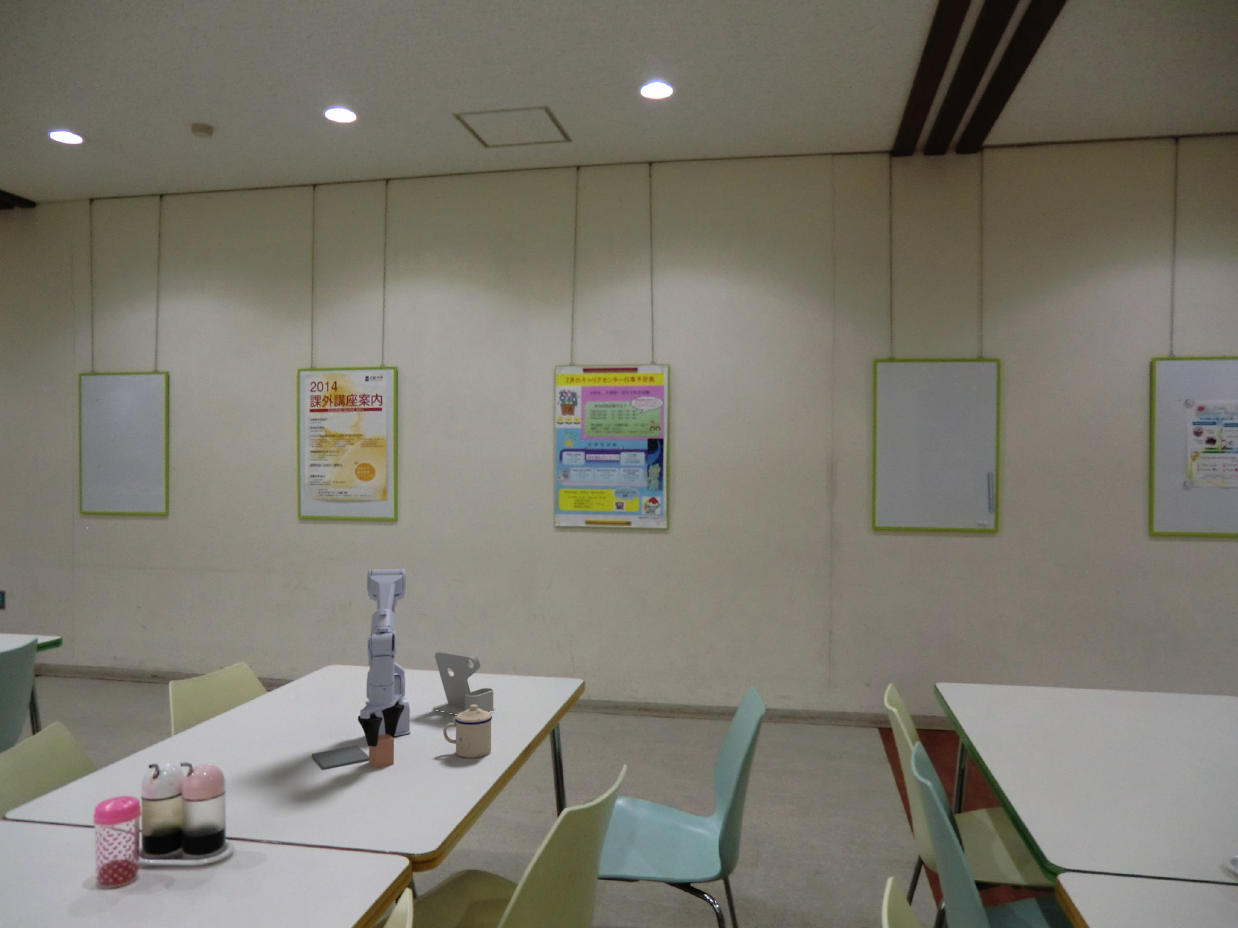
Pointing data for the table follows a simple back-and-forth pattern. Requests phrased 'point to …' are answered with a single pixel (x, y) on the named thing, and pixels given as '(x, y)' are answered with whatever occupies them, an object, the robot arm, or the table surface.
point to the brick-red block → (382, 751)
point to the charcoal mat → (340, 757)
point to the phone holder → (461, 683)
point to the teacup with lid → (472, 733)
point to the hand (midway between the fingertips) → (381, 740)
